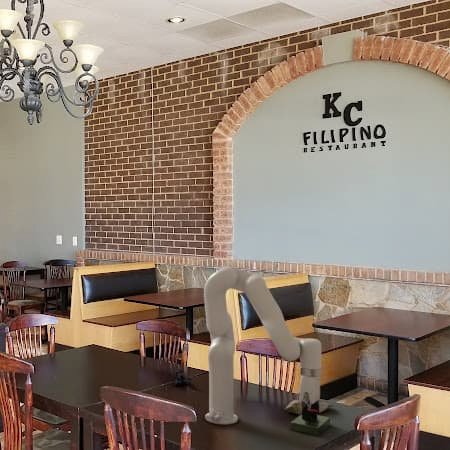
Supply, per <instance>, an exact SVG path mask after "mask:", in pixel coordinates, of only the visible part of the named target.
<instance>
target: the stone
mask: <svg viewBox="0 0 450 450" xmlns="http://www.w3.org/2000/svg"><path fill="white" fill-rule="evenodd" d="M307 402H309V401H307ZM318 404H319V414H321V413H323V412H325V411H328V410H330V408H331V407H335V406H334V404H331V403H327V402H321V401H319V403H318ZM301 405H302V403H301V402H300V399H294V400H292V401H291V402H290V403H288V404H287V406H286V407H285V408H284V411H286V412H289V413H292V414H296V415H298V416H300V415H301V414H302V406H301ZM307 406H308V404H307Z"/></svg>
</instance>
